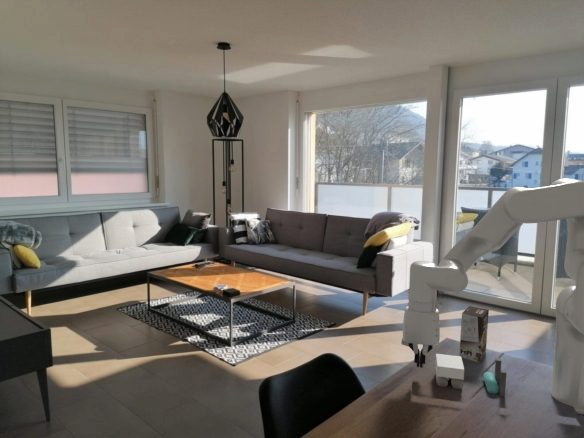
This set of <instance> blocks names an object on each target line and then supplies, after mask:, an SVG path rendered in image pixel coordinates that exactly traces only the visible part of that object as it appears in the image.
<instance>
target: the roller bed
mask: <svg viewBox="0 0 584 438" xmlns="http://www.w3.org/2000/svg"><path fill="white" fill-rule="evenodd" d="M494 363H495V365H494V376H495V379H496V382H497V384H498V387H499V392H498V395H499V396H500V397H505V396H506V385H507V371H506V370H505V369H502V359H501V358H499V357H498V358H497V357H496V358H495V362H494ZM434 369H435V370H434V371H435V380H436V386H438V387H441V388H442V387H444V388H447V386H448V383H449V382H448V378H447V377H439V376H437V373H436V368H434ZM450 383H451V386H452V389H457V390H461V389H463V386H464V382H463V380H462V379H454V378H450Z"/></svg>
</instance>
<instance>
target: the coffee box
mask: <svg viewBox="0 0 584 438" xmlns="http://www.w3.org/2000/svg"><path fill="white" fill-rule="evenodd" d="M489 311H490V310H489V309H488V308H483V307H477V306H471V305H469V306H468V307H466V309H464V311H463V312H462V313H461V325H460V336H459V337H460V340H459V353H458V354H459V355H458V356H461V358H462V359H464V360H469V361H472V362H476V363H480V362H481V361H482V359H483V357H484V356H485V354H486V353H487V343H488V328H489V325H488V324H489Z"/></svg>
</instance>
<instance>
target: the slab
mask: <svg viewBox="0 0 584 438" xmlns="http://www.w3.org/2000/svg"><path fill="white" fill-rule="evenodd" d="M434 363H435V369H436V373H437V376H439V377H447V379H451V378H454V379H462V381H463V380H465V366H464V362H463V358H461V356H459V355H453V354H441V353H435V362H434ZM436 373H435V374H436Z"/></svg>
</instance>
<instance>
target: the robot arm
mask: <svg viewBox="0 0 584 438" xmlns="http://www.w3.org/2000/svg"><path fill="white" fill-rule="evenodd" d="M560 220H566V224H567V226H566V227H567V236H566V237H567V238H566V247H565V255H564V262H563V263H564V265H563V268H564V271H565V274H566V275H567V277H569V278H570V279H571V280H572V281H574V282H575V285H569V286H567V287H565V288H563V289H562V290H561V291H560V292H559V293H558V295H557V297H556V301H555V326H556V327H555V340H554V347H553V348H554V351H553V358H552V372H551V383H550V391H549V394H550V395H551V397H553V398H554V399H555V400H556V401H557V402H560V403H561V404H565V405H567V406H571V407H573V409H574V410H575V412H576V413H577V414H578V415H584V180H580V179H575V178H567V177H565V178H559V179H557V180H555V181H553V182H552V183H550V185H548V186H541V187H535V188H534V187H533V188H527V187H523V186H514V187H512V188H509V189H507V190H506V191H505V192H503V194H502V195H501V196H500V197H499V198H498V200H497V201H496V202H495V203H494V204H493V205H492V207H490V209H489V210H488V211H487V212H486V213H485V215H483V217H482V218H481V219H480V220H479V221H478V223H477V224H475V226H473V227H472V228H471V230H469V231H468V232H467V233H466V234H465V235H464V236H463V237H462V238H461V239H459V241H457V243H455V245H454V246H452V248H451V249H450V250H449V251H448V252H447V254H445V256H444V257H443V258H442V259H441V261H440V262H439V263H438V265H437V264H436V263H434V262H432V261H426V260H417V261H413V262H412V263H411V264H410V267H409V282H408V285H409V287H408V289H409V290H408V305H406V307H405V310H404V314H403V321H402V322H403V323H402V339H401V345H402V346H405V347H409V348H410V349H411V350H412V352H413V353H414V361H413V362H414V363H415V364H416V368H421V369H422V368H424V367H423V366H424V365H425V364H426V356H427V354H428V353H429V352H431V351H432V350H439V349H441V343H440V337H441V336H440V335H441V332H440V331H441V326H440V324H441V323H440V313H439V309H438V308H442V304H443V303H442V302H440V301H438V300H437V297H438V296H437V291H440V292H444V293H448V294H459V293H462V292H463V291H465V290H466V289H467V287H468V285H469V277H468V274H467V272H468V271H469V269H470V268H471V267H472V266H473V265H474V264H475V263H476V262H477V261H478V260H480V259H481V258H482V257H484V256H485V255H487V254H489V253H492V252H493V253H494V252H495V251H498V250H499V249H501V248H502V247H503V246H504V245H505V244H506V243H507V242H508V241H509V240H510V238H511V237H512V236H514V234H515V233H516V232H517V231H518V229H520V228H521V227H522V226H523V224H538V223H549V222H555V221H560ZM418 345H422V348H421V350H420V349H419V346H418Z"/></svg>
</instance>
